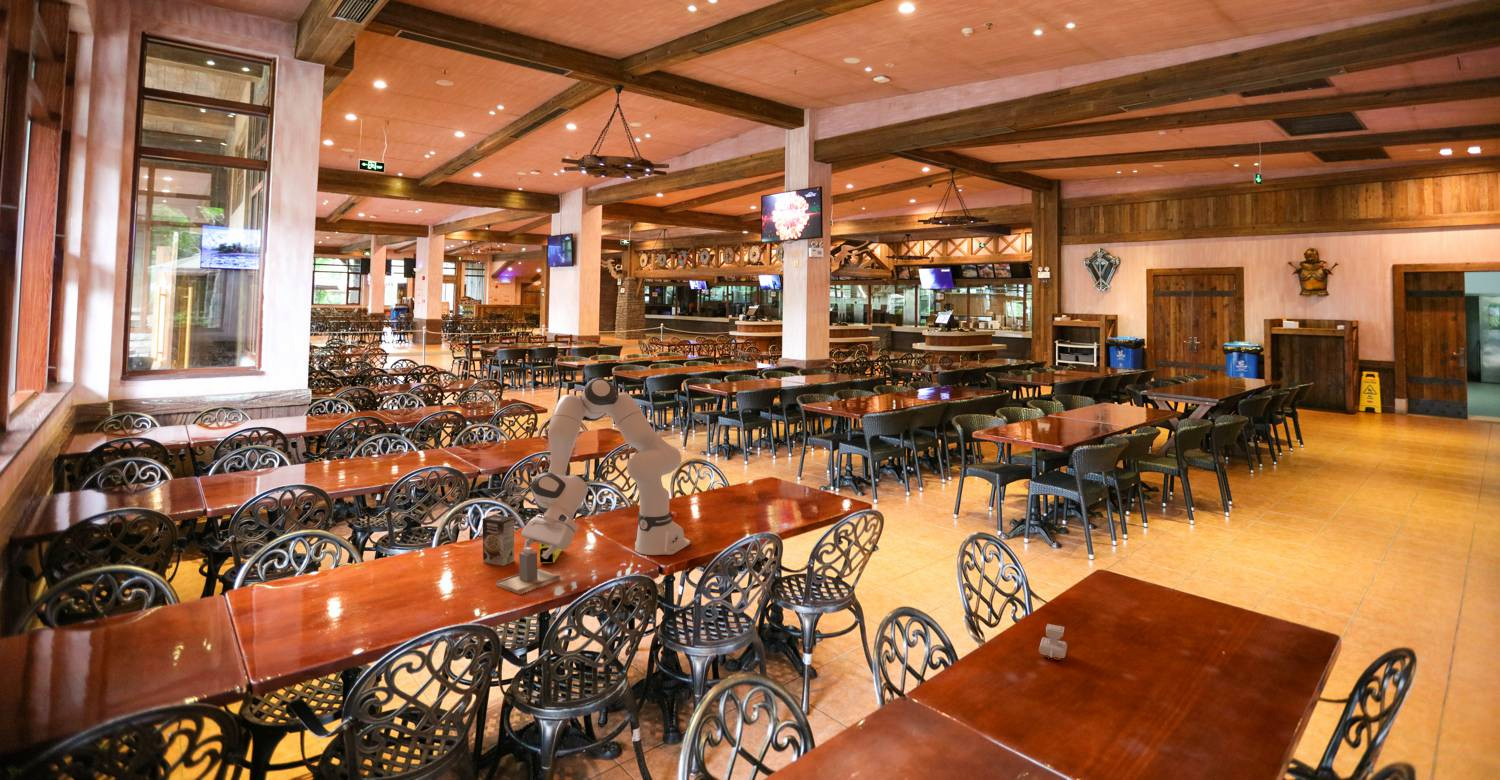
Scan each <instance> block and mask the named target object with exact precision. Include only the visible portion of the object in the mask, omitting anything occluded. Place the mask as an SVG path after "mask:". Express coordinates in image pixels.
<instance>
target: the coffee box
mask: <svg viewBox="0 0 1500 780" xmlns="http://www.w3.org/2000/svg"><path fill="white" fill-rule="evenodd" d="M482 559H483V560H482V562H483V563H485V564H491V565H496V566H502V567H504V566H507V565H509V564H511V563H512V562H514V561H515V517H511V516H506V515H499V514H493V515H492V514H491V515H488V516H486V517H484V518H482Z"/></svg>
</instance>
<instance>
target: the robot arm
mask: <svg viewBox="0 0 1500 780" xmlns="http://www.w3.org/2000/svg"><path fill="white" fill-rule="evenodd" d="M605 414H606V415H609V416H610V418H611V419H613V421H614V423H615V425H616V427H617V429H618V431H619V432H620V435H621V436H622V438H623V440H624V441H625V443H626V444H627V445H628V446H630V447H632V448H634V449H636V450H637V451H638V452H636V453H634V454H633V455H631V456H630V457H629V458H628V460H627V462H626V471H627V474H628V475H629V477H630V478H631V479H633V481H634V482H635V485H636V487H637V489H638V495H639V512H638V515H637V516H638V517H637V521H638V522H637V523H638V526H637V531H636V540H635V541H634V550H635V551H636V552H637V553H638V554H641V555H647V556H660V555H666V556H667V555H668V556H669V555H675V554H676V553H678V552H679V551H680V550H682V549H684V548H685V547H688V546H689V545H690V544H691V540H689V539H688V538H686V537H685V533H684V532H685V531H684V529H683V528H682V526H680V525H679V524H678V523H676V522H675V521H673V518H677V512H676V511H670V493H669V490H668V489H666V488H665V487H664V485H663V481H662V476H665V475H669V474H671V473H672V472H674V471H676V470H677V469H678V468H679V467H680V466H681V464H682V455H681V452H680V451H679V449H678V448H677V447H675V446H673V445H671V444H670V443H668V442H667V441H665V440H664V439H663V438H662V437H661V436H660V435H659V434H658V433H657V432H656V431H655V429H654V428H653V427H652V426H651V424H650V422H649V421H648V419H647V417H646V415H645V414H644V412H643V410H642V409H641V408H640V406H639V404H638V403H637V401H636V400H635V399H634V398H633V396H631V395H630V394H629V393H628V392H624V391H623V392H619V391H618V389H617V388H616V387H615V386H614V385H613V384H612V382H610V381H609V380H607V379H606V378H603V377H595V378H592V379H590V381H588V382H587V383H586V384H585V386H584V388H583V390H582V392H581V394H579V395H575V394H564V395H562V396H561V397H560V398H559V399H558V401H557V403H556V405H555V407H554V409H553V412H552V414H551V418H550V420H549V423H548V431H547V439H548V443H549V444H548V445H549V450H550V462H549V467H548V471H546V472H541V473H539V474H538V475H536V476H535V477H534V478H533V481H532V483H531V488H532V493H533V497H534V499H535V505H536V507H537V508H538V510H540V511H541V512H543V513H544V514H543V515H542V514H537V515H535V516H534V517H532V518H531V519H530V520H529V521H528V522H527V524H526V525H525V526H524V528H523V529H522V531H521V533H520V536H522V537H523V538H524V539H525V540H524V546H523V548H522V550H521V551H522V552H524V548H526V547H530V548H531V545H533V543H537V544H539V545H540V544H541V545H542V544H544V545H547V546H549V549H548V550H547V551H546V552H545V551H544V552H543V554H542V555H541V557H543V558H545V559H547V558H548V557H549V555H550V554H552V553H553V552H555V551H556V549H557V548H558V549H561V550H562V551H565V550H566V549H568V547H569V546H570V545H571V543H572V541H573V539H574V537H575V535H576V533H577V532H578V530H579V529H580V527H579V526H578V525H577V524H576V522H574V520H573V518H574V516H575V514H576V511H577V510H579V509H580V507H581V506H582V504H583V502H584V500H585V498H586V496H587V494H588V491H589V487H588V485H587V482H586V481H585V479H583V478H582V477H581V476H579V475H577V474H570V475H567V471H568V466H569V462H570V459H571V456H572V453H573V450H574V447H575V444H576V441H577V440H578V437H579V433H580V432H581V431H580V430H581V427H582V424H583V421H586V422H596V421H599V420H600V419H602V418H603V416H605ZM672 517H673V518H672Z"/></svg>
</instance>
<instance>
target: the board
mask: <svg viewBox="0 0 1500 780" xmlns="http://www.w3.org/2000/svg"><path fill="white" fill-rule="evenodd" d="M560 580H561V576H560V574H554V573H551V572H548V571H545V570H544V569H543V570H542V569H540V568H538V567H537V579H536V580H533V581H530V582H528V583H527V582H524V581H522V580H520V574H519V573H517V574H513V575H510V576H507V577H505V578H501V579H499V580H496V582H495V583H496V585H495V586H497V587H498V588H501V589H504V590H506V591H509V592H511V591H512V592H511V593H514V594H516V593H517V595H519V594H521V595H524V594H526V593H528V591H529V592H531V590H532V591H534V590H537V589H540V588H542V587H544V586H547V585H550V584H552V583H555V582H558V581H560ZM536 588H537V589H536ZM533 589H534V590H533ZM525 592H526V593H525ZM523 593H524V594H523Z"/></svg>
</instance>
